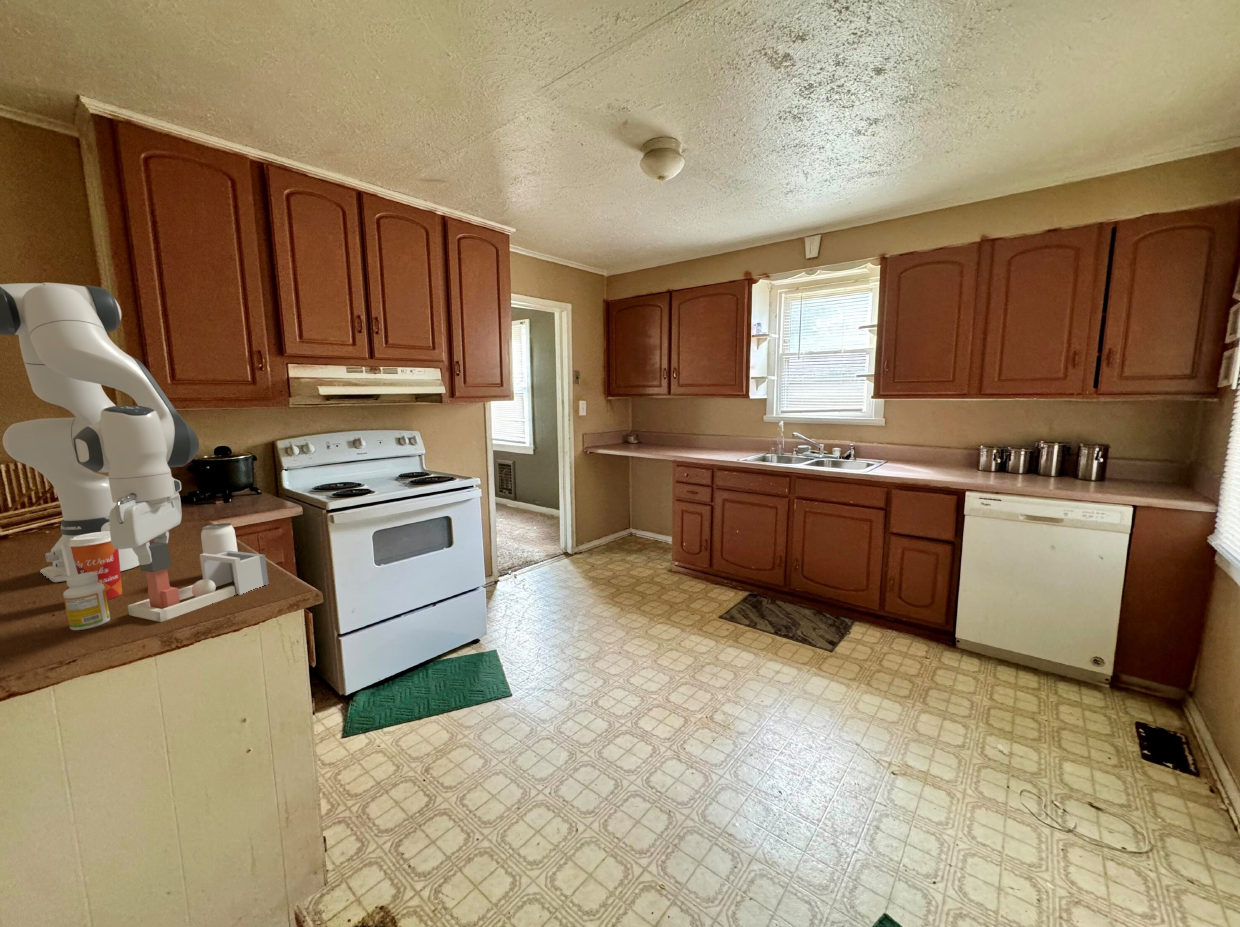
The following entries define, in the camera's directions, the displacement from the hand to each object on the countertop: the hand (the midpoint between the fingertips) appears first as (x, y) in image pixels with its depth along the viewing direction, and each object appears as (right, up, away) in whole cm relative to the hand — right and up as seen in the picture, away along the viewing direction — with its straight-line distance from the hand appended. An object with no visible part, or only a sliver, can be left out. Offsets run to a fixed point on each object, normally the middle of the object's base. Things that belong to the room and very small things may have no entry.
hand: (154, 558), depth 99 cm
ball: (+3, -8, +8) cm, 12 cm away
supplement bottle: (-9, -12, -3) cm, 16 cm away
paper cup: (-21, -11, +11) cm, 26 cm away
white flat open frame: (+2, -11, +5) cm, 12 cm away
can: (-5, -8, +24) cm, 26 cm away
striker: (0, -11, +1) cm, 11 cm away
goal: (+5, -9, +14) cm, 17 cm away
